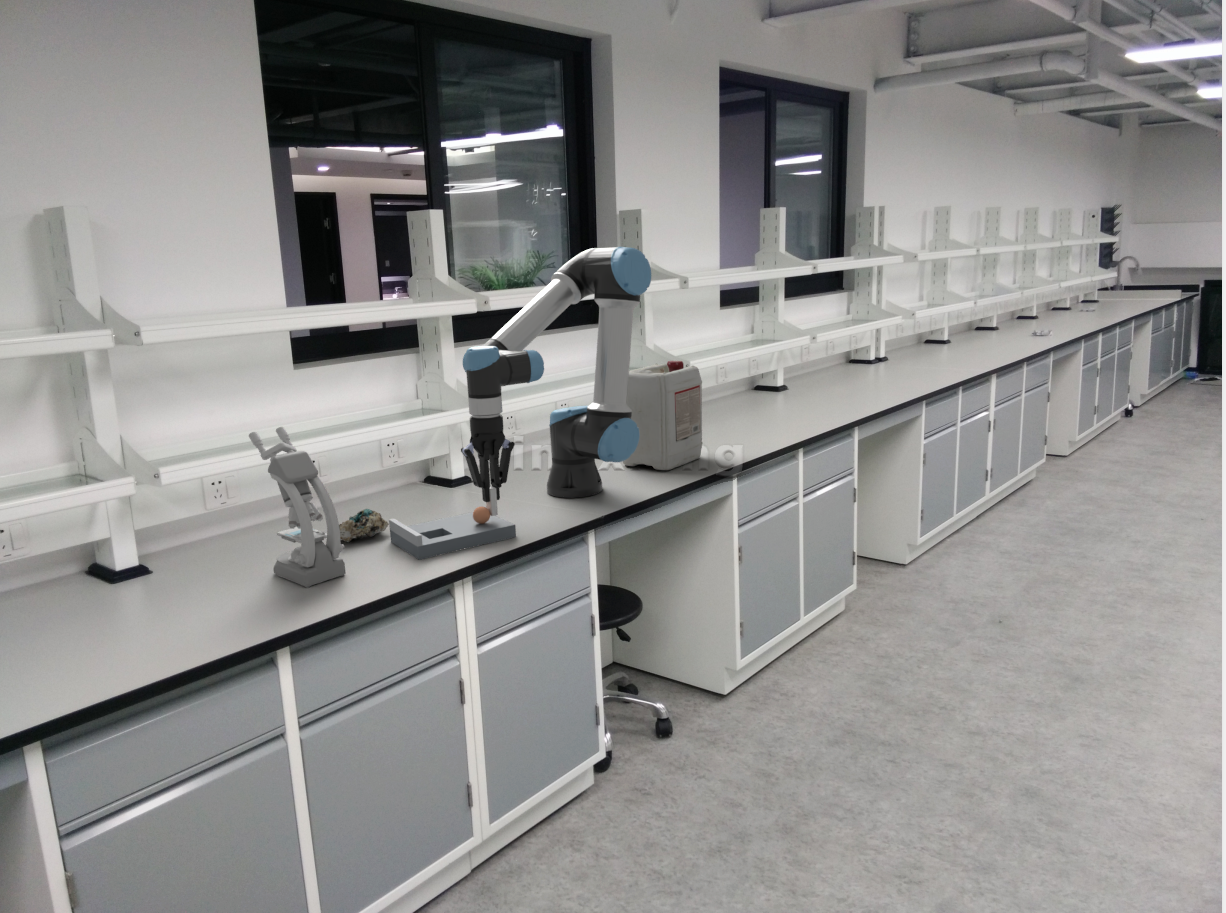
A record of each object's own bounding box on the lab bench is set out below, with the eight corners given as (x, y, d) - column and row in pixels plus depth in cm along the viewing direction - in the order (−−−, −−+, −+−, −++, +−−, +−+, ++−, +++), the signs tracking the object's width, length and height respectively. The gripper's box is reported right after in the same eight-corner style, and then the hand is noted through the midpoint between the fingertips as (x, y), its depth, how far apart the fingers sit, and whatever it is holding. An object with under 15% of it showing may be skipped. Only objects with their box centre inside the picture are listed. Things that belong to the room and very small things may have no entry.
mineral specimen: (376, 524, 218) (361, 497, 215) (397, 528, 212) (382, 499, 209) (336, 554, 211) (320, 526, 208) (356, 558, 205) (340, 529, 202)
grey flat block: (484, 521, 220) (483, 500, 219) (516, 536, 208) (514, 514, 206) (391, 541, 207) (388, 519, 206) (418, 559, 194) (416, 536, 193)
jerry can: (657, 451, 289) (655, 358, 282) (708, 457, 278) (707, 360, 272) (614, 467, 270) (611, 368, 263) (667, 474, 259) (665, 371, 253)
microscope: (304, 557, 199) (288, 424, 192) (353, 574, 187) (337, 433, 180) (258, 571, 191) (239, 433, 184) (305, 590, 179) (287, 443, 172)
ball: (487, 517, 212) (482, 502, 210) (495, 521, 208) (490, 505, 207) (472, 524, 210) (467, 508, 208) (480, 528, 206) (475, 512, 205)
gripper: (503, 409, 211) (509, 505, 216) (452, 416, 204) (459, 516, 209) (519, 413, 205) (524, 512, 210) (467, 420, 198) (474, 523, 203)
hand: (492, 514), depth 210 cm, fingers closed
